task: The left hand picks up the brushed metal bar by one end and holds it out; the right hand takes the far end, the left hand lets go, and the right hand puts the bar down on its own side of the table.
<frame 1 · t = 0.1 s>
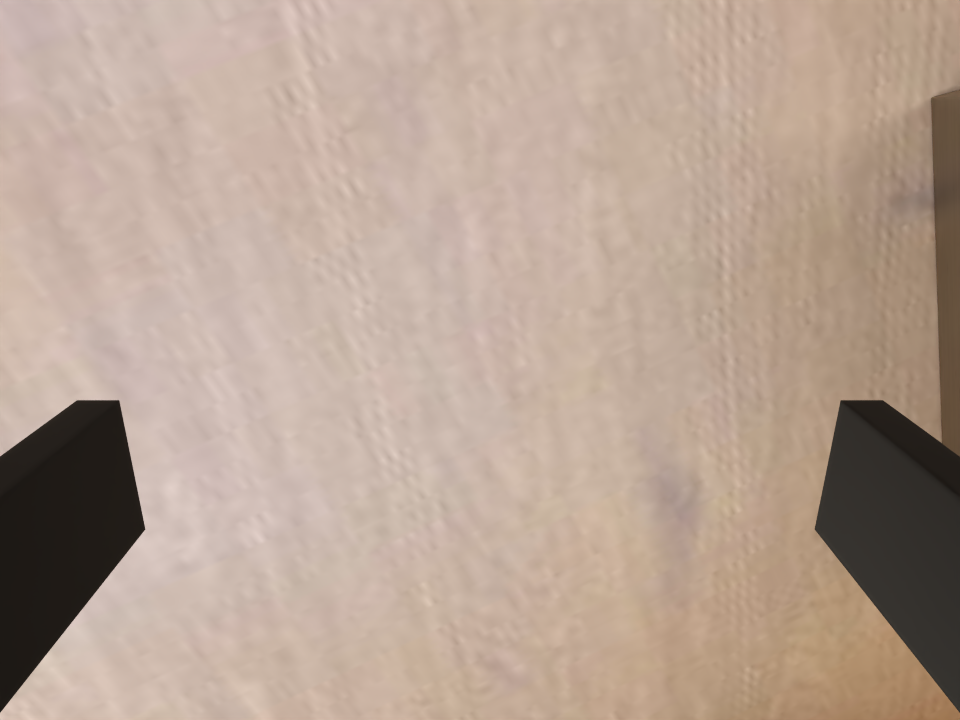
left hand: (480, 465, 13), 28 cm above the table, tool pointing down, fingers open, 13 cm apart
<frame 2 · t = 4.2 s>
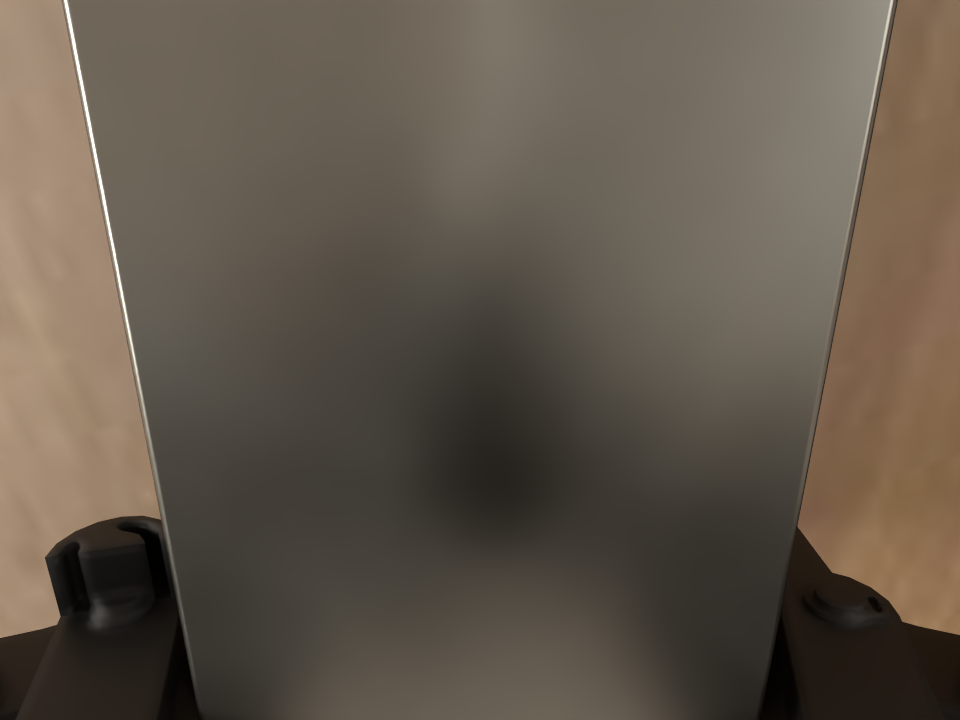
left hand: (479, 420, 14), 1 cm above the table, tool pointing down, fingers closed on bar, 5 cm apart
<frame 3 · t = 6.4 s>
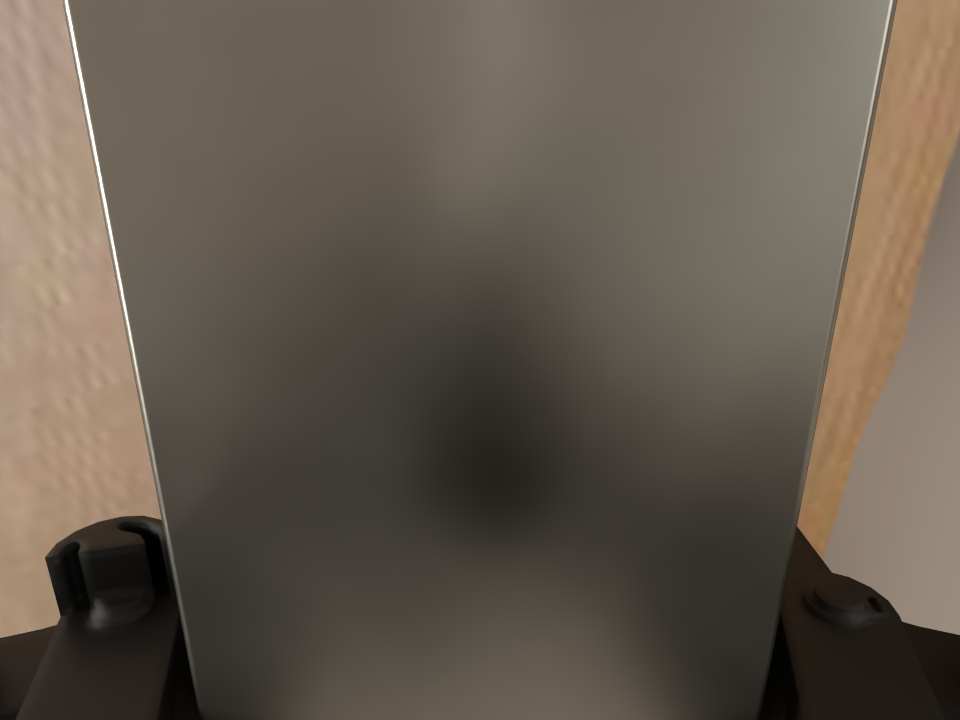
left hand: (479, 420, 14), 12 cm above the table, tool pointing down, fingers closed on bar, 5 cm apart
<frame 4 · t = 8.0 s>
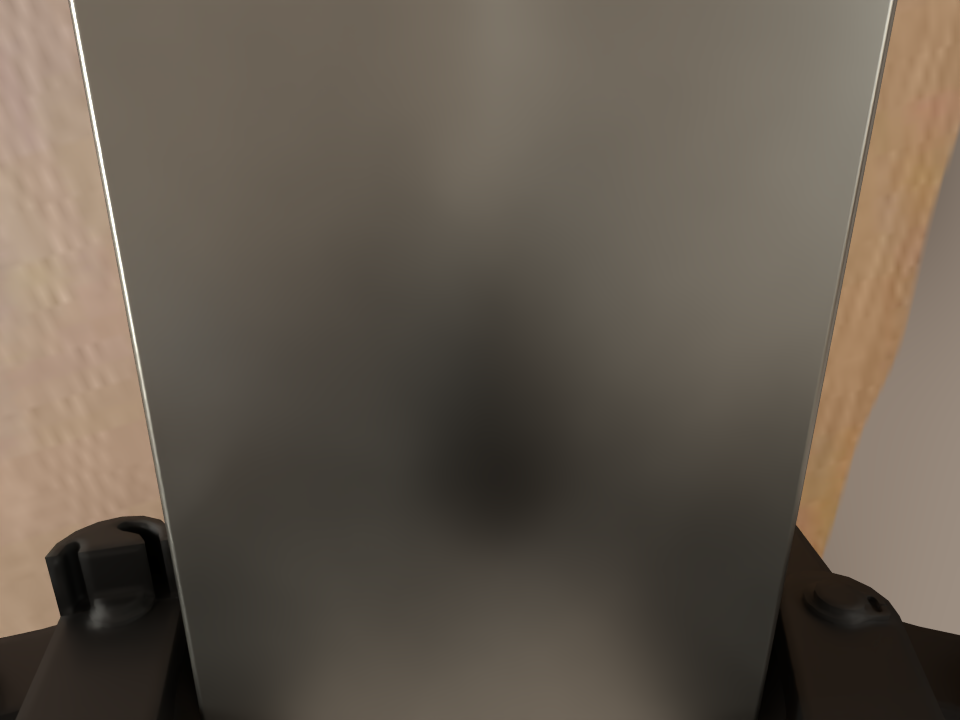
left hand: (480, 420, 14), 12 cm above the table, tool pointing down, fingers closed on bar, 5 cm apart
when the left hand's fingers open (12 cm above the table, at t = 8.8 s): bar stays where it is, held by the right hand.
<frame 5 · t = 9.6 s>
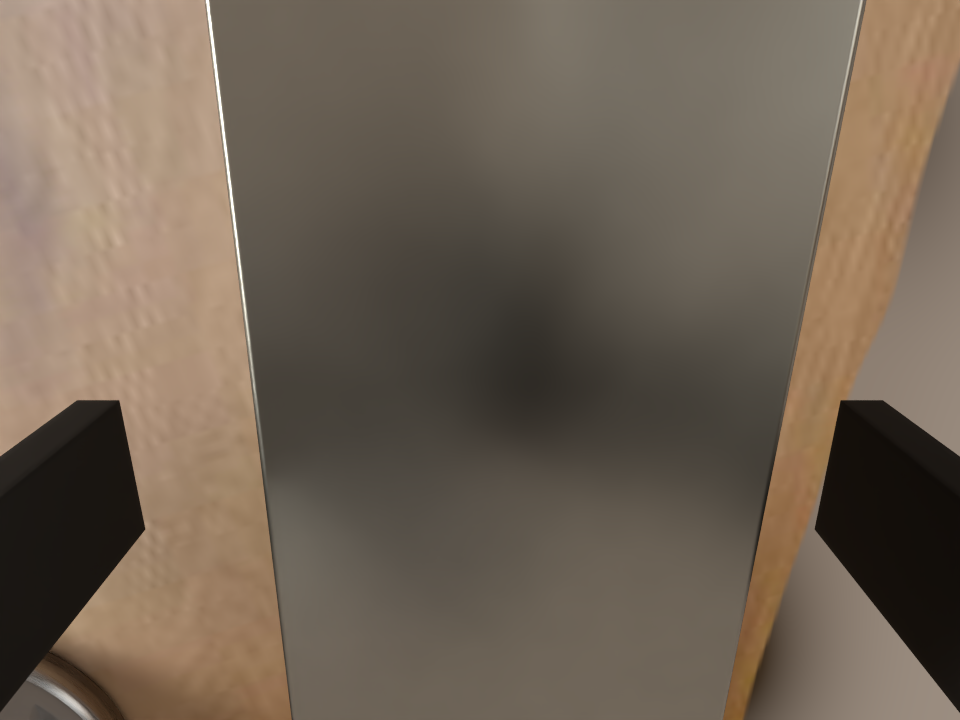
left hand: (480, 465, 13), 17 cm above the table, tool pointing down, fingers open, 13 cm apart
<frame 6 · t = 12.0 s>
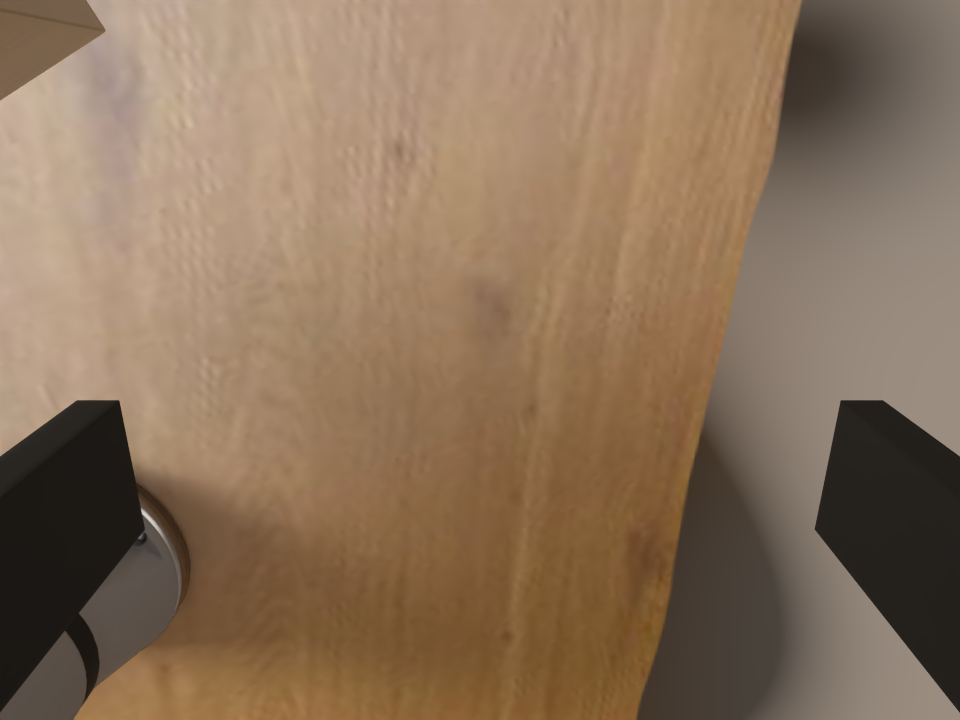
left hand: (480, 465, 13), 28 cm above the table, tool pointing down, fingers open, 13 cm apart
when the right hand's fingers open (4 cm above the table, at t = 16.3 s): bar stays where it is, on the table.
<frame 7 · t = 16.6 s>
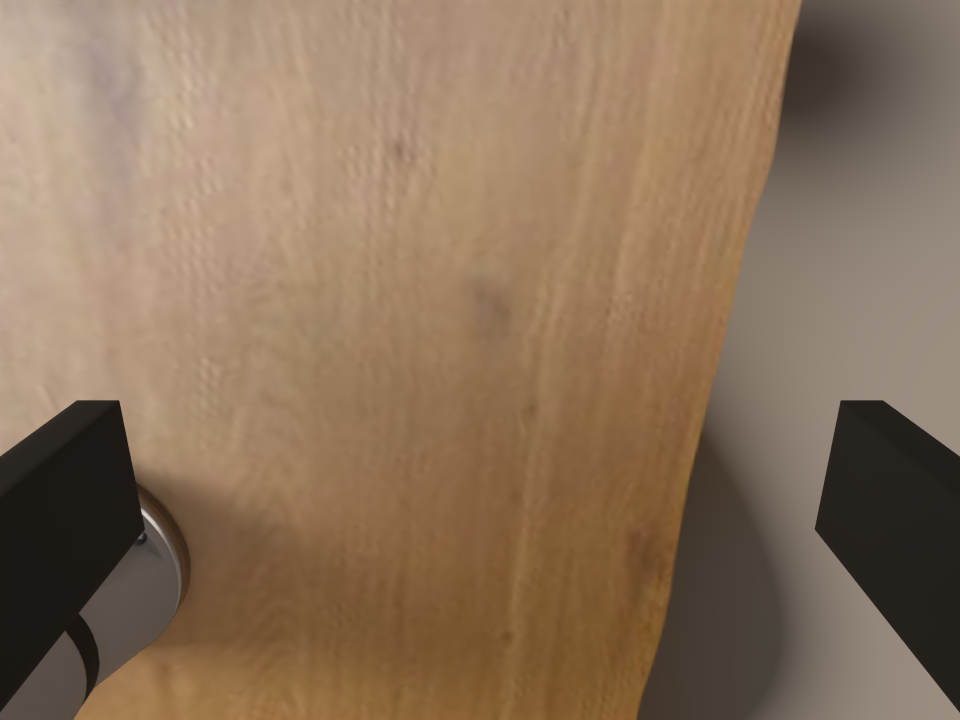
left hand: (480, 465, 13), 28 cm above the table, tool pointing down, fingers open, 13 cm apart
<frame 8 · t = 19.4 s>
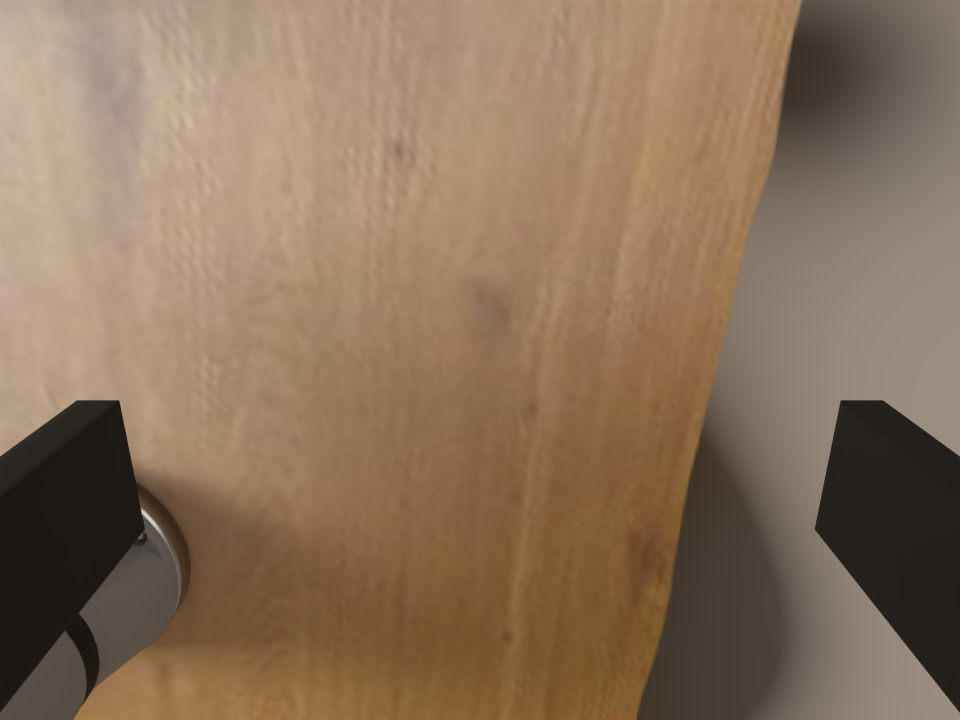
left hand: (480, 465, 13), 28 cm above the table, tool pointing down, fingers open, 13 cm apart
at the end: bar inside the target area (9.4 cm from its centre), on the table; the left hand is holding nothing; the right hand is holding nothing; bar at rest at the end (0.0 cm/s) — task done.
